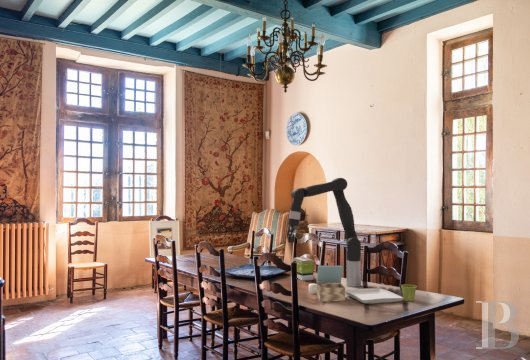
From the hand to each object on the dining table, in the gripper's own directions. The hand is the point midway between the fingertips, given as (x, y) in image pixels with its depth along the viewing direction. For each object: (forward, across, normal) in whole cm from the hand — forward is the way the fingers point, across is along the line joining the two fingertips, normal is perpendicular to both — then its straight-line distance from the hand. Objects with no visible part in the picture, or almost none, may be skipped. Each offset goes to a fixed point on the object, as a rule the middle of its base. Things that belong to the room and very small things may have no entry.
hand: (291, 242), depth 311 cm
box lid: (+15, -16, -31) cm, 38 cm away
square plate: (+26, -9, -57) cm, 64 cm away
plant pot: (+23, -6, -78) cm, 82 cm away
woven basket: (+29, -17, -33) cm, 47 cm away
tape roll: (+29, -5, -20) cm, 36 cm away
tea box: (+27, +40, -3) cm, 48 cm away
